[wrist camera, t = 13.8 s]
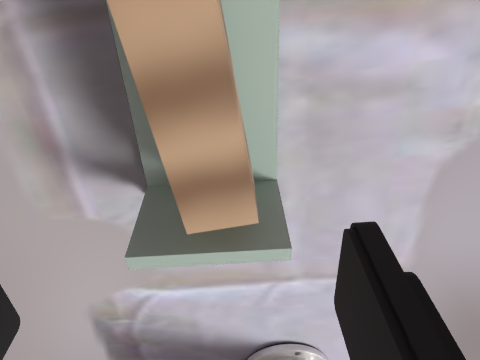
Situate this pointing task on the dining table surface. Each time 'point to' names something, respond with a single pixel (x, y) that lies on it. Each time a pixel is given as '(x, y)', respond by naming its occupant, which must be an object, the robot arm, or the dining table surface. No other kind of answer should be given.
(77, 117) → the dining table surface
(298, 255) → the dining table surface
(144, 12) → the wooden block
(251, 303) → the dining table surface
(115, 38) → the shelf rack
